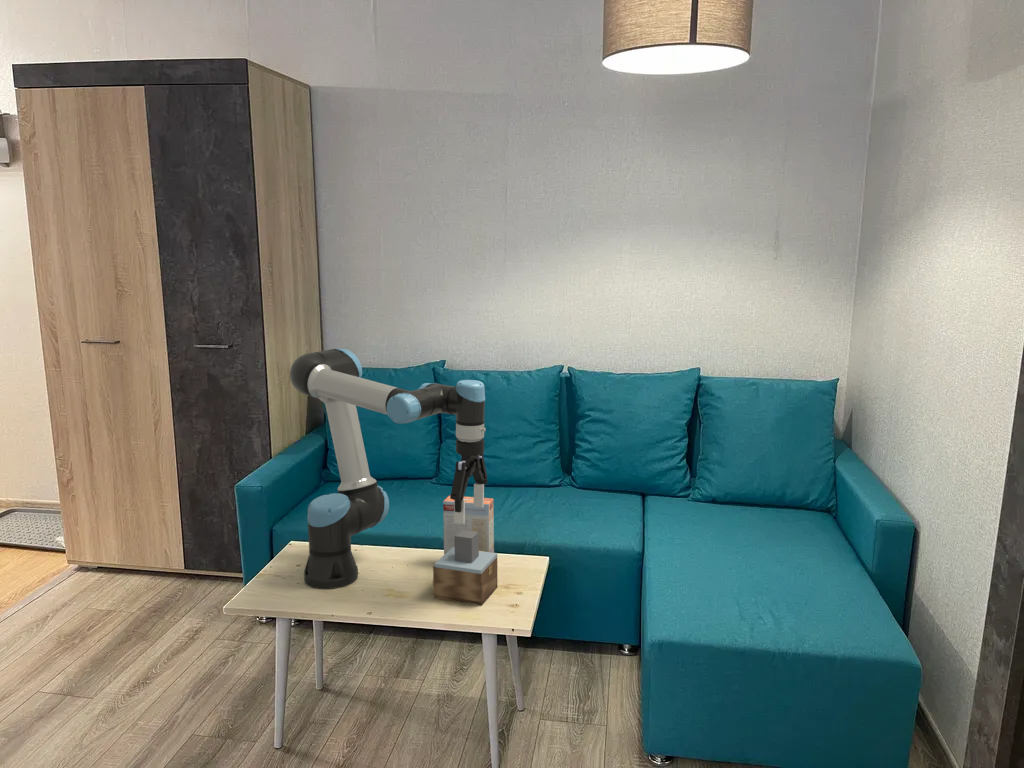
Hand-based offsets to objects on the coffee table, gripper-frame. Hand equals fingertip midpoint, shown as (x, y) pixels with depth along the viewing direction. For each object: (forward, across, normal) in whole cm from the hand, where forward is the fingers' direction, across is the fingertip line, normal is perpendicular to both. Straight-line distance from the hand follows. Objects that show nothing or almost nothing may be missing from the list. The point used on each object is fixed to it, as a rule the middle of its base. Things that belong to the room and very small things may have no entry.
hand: (469, 514), depth 216 cm
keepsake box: (+22, -1, 0) cm, 22 cm away
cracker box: (+23, +16, +6) cm, 28 cm away
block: (+12, -1, 0) cm, 12 cm away
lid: (+13, -1, 0) cm, 13 cm away
